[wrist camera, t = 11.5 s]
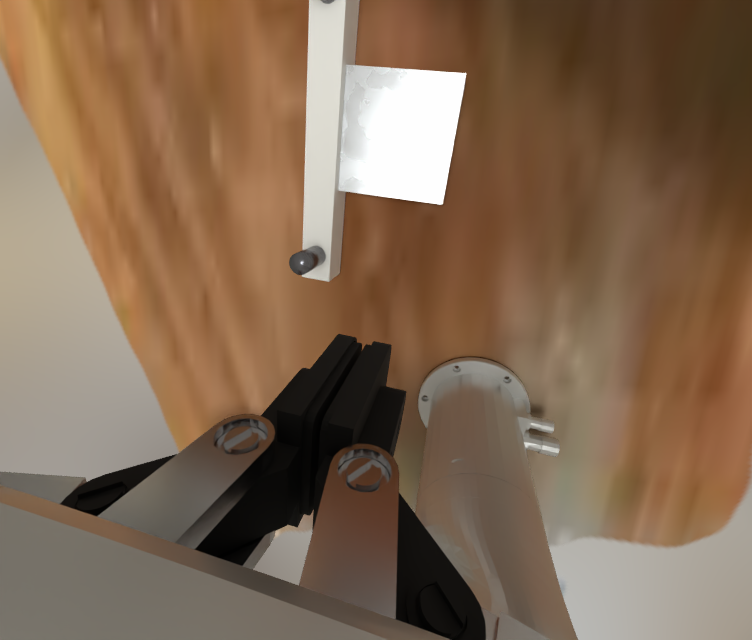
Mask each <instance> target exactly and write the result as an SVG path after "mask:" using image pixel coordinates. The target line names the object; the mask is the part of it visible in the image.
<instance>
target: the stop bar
mask: <svg viewBox="0 0 752 640" xmlns="http://www.w3.org/2000/svg"><path fill="white" fill-rule="evenodd" d="M359 1H360V0H309V33H308V71H307V108H306V145H305V182H304V219H303V250H302V251H300V252H298V253H296V254H293V255H292V256H291V258H290V261H289V264H290V268H291V269H292V271H293V272H294V273H296V274H298V275H302V277H306V278H312V279H317V280H323V281H328V282H329V281H330V280H332V279H333V278H334V277H336V276H337V275H338V274H340V264H341V250H342V236H343V223H344V209H345V195H346V191H339V190H338V181H339V166H340V151H341V136H342V120H343V105H344V90H345V75H346V65H355V56H356V42H357V28H358V14H359Z"/></svg>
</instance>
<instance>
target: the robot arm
mask: <svg viewBox="0 0 752 640" xmlns="http://www.w3.org/2000/svg"><path fill="white" fill-rule="evenodd" d="M361 351H362V352H361ZM390 355H391V345H389V344H384V343H380V342H375V341H374V342H373V343H372V345H367V344H366V345H365V347H364V349H363V350H362V344H361V343H357V339H356V337H351V336H346V335H341V334H338V335H337V336H336V338H335V339H334V340H333V341H332V342H331V344H330V345H329V346H328V347H327V349H326V350H325V351H324V352H323V354H322V355H321V356H320V357H319V359H318V360H317V361H316V362H315V364H314V365H313V366H312V367H311V368H310V369H307V368H302V369H301V370H300V371H299V372H298V373H297V374H296V375H295V377H294V378H293V379H292V380H291V381H290V382H289V384H288V385H287V386H286V387H285V388H284V389H283V391H282V392H281V393H280V394H279V395H278V396H277V398H276V399H275V400H274V401H273V402H272V404H271V405H270V406H269V407H268V408H267V409H266V411H265V412H264V413H263V414H262V415H261V416H258V415H254V414H242V415H236V416H232V417H229V418H227V419H224V420H222V421H221V422H219V423H217V424H216V425H215V426H213V427H212V428H211V429H209V430H208V431H207V432H205V433H204V434H203V435H202V436H200V437H199V438H198V439H196V440H195V441H194V442H193V443H191V444H190V445H189V446H187V447H186V448H185V449H183V450H182V451H181V452H180V453H178V454H176V455H172V456H169V457H165V458H162V459H158V460H155V461H151V462H147V463H144V464H140V465H137V466H133V467H130V468H127V469H123V470H119V471H116V472H112V473H109V474H105V475H103V476H100V477H98V478H95V479H92V480H90V481H88V482H86V479H85V478H84V477H70V476H55V475H40V474H25V473H11V472H0V640H578V638H577V636H576V633H575V631H574V628H573V625H572V622H571V619H570V617H569V613H568V611H567V608H566V605H565V602H564V599H563V596H562V592H561V589H560V586H559V582H558V579H557V575H556V571H555V568H554V564H553V561H552V557H551V553H550V550H549V546H548V541H547V537H546V533H545V529H544V525H543V521H542V516H541V512H540V508H539V503H538V499H537V495H536V491H535V486H534V482H533V478H532V474H531V469H530V465H529V461H528V457H527V452H526V451H527V449H528V450H532V451H536V452H538V453H541V454H545V455H549V456H553V457H556V456H557V455H558V453H559V448H560V444H559V441H558V439H555V438H551V437H547V436H543V435H535V434H531V433H529V431H528V430H529V428H532V429H536V430H538V431H542V432H546V433H552V432H553V430H554V422H553V420H548V419H544V418H537V417H532V416H531V414H530V401H529V397H528V394H527V391H526V389H525V387H524V385H523V383H522V382H521V381H520V379H519V378H518V377H517V376H516V375H515V374H514V373H513V372H512V371H511V370H509V369H508V368H506V367H504V366H503V365H501V364H499V363H496V362H494V361H491V360H488V359H483V358H473V357H466V358H458V359H454V360H451V361H448V362H445V363H443V364H442V365H440V366H438V367H437V368H435V369H434V370H433V371H431V372H430V374H429V375H428V376H427V377H426V378H425V380H424V382H423V384H422V386H421V388H420V392H419V398H418V410H419V414H420V417H421V420H422V422H423V423H424V425H425V427H426V428H427V434H426V441H425V448H424V455H423V462H422V469H421V476H420V483H419V490H418V497H417V505H416V512H415V513H414V512H413V511H412V509H411V508H410V507H409V505H408V504H407V503H406V501H405V500H404V499H403V497H402V496H401V494H400V493H399V471H398V465H397V463H396V462H395V460H394V458H393V455H394V451H395V447H396V443H397V439H398V434H399V430H400V425H401V420H402V415H403V409H404V404H405V398H406V391H403V390H399V389H394V388H390V387H386V382H387V375H388V368H389V361H390ZM455 366H458V367H455ZM506 376H508V377H506ZM425 395H426V396H425ZM313 509H314V514H313V532H312V537H311V541H310V545H309V548H308V552H307V556H306V560H305V564H304V567H303V571H302V575H301V579H300V583H299V586H298V585H295V584H292V583H289V582H287V581H284V580H281V579H278V578H275V577H272V576H269V575H267V574H264V573H261V572H258V571H255V570H253V568H254V567H255V565H256V564H257V563H258V561H259V560H260V558H261V557H262V556H263V554H264V553H265V551H266V550H267V548H268V547H269V546H270V544H271V542H272V540H273V538H274V536H275V530H278V529H280V528H282V527H284V526H287V524H288V525H291V526H295V527H298V525H299V523H300V521H301V519H302V517H303V515H304V514H306V515H311V513H312V511H313Z"/></svg>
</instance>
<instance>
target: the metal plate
mask: <svg viewBox="0 0 752 640" xmlns="http://www.w3.org/2000/svg"><path fill="white" fill-rule="evenodd" d="M465 83H466V73H453V72H439V71H426V70H412V69H398V68H385V67H371V66H358V65H346V75H345V90H344V105H343V120H342V136H341V151H340V166H339V181H338V190H339V191H346V192H353V193H360V194H368V195H375V196H382V197H390V198H397V199H404V200H412V201H419V202H426V203H434V204H441V205H442V204H443V203H444V198H445V193H446V187H447V182H448V176H449V171H450V165H451V160H452V154H453V149H454V143H455V138H456V132H457V127H458V121H459V116H460V110H461V105H462V99H463V94H464V88H465Z"/></svg>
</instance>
